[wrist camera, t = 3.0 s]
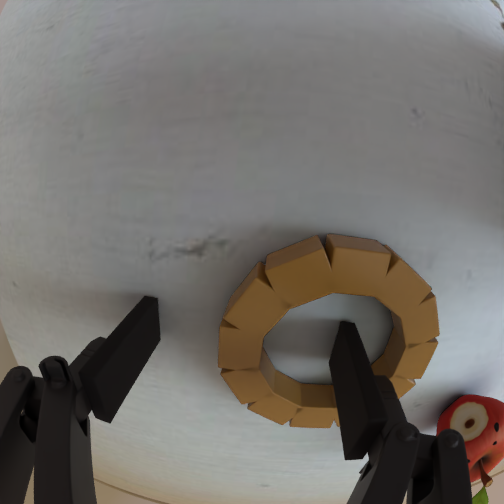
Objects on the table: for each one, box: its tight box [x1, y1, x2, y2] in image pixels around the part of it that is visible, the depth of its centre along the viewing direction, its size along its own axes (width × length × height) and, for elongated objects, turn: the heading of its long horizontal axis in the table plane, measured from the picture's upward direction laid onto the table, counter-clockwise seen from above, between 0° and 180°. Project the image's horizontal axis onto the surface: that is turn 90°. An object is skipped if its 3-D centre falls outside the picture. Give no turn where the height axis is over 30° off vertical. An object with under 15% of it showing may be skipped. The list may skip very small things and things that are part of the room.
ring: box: [218, 234, 440, 428], centre depth 14 cm, size 11×11×2 cm
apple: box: [436, 394, 504, 504], centre depth 11 cm, size 8×7×10 cm
